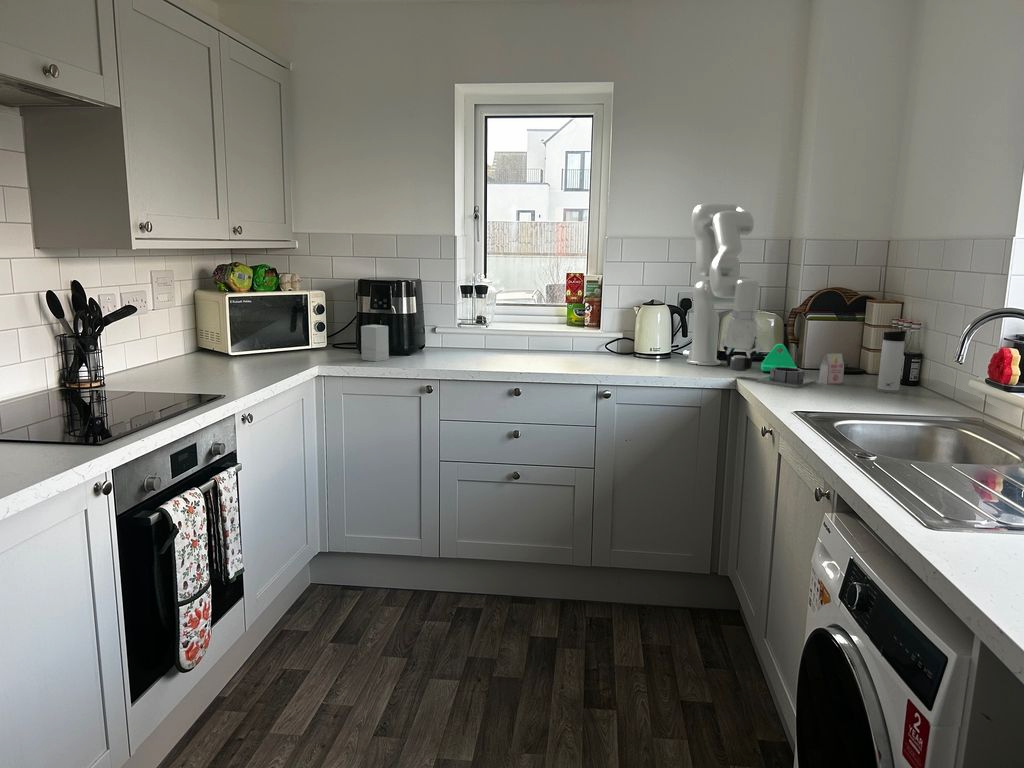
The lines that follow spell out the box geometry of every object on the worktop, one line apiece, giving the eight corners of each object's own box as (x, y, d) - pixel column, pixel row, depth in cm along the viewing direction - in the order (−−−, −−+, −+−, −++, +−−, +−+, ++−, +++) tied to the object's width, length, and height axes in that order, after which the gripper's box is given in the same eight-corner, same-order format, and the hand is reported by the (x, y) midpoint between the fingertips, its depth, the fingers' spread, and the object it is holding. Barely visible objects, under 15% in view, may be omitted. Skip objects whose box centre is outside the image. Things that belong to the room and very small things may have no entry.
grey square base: (756, 381, 258) (757, 368, 258) (776, 377, 268) (777, 364, 267) (797, 388, 249) (798, 374, 248) (815, 383, 259) (816, 370, 258)
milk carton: (818, 382, 261) (821, 353, 259) (834, 381, 263) (837, 352, 261) (826, 384, 257) (829, 354, 255) (842, 383, 260) (845, 354, 258)
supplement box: (389, 359, 286) (389, 325, 284) (375, 361, 280) (375, 327, 278) (374, 357, 290) (374, 324, 288) (360, 359, 284) (360, 325, 282)
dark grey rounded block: (726, 368, 267) (727, 356, 266) (735, 366, 271) (736, 354, 270) (742, 371, 263) (743, 359, 262) (750, 369, 267) (752, 356, 266)
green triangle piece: (761, 373, 277) (763, 345, 275) (760, 370, 284) (763, 342, 282) (796, 376, 274) (799, 347, 272) (795, 372, 281) (797, 344, 279)
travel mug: (890, 394, 242) (898, 331, 238) (872, 390, 248) (879, 329, 244) (903, 393, 245) (911, 330, 241) (885, 389, 251) (892, 328, 247)
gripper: (715, 313, 266) (711, 364, 270) (762, 319, 254) (756, 373, 258) (726, 311, 271) (722, 361, 275) (772, 317, 259) (767, 370, 263)
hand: (738, 366), depth 266 cm, fingers closed on dark grey rounded block, 5 cm apart
